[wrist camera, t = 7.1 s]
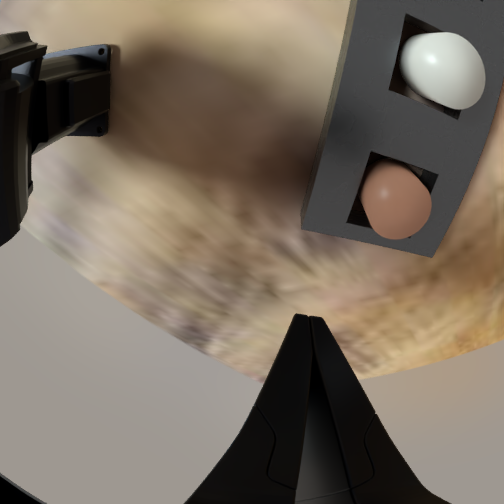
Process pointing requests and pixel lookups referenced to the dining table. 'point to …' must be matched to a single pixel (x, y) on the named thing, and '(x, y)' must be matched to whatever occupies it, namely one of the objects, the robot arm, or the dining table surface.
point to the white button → (443, 69)
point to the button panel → (401, 118)
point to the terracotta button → (394, 199)
